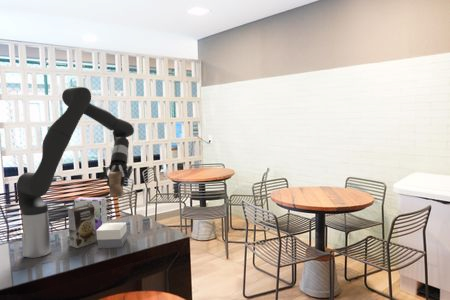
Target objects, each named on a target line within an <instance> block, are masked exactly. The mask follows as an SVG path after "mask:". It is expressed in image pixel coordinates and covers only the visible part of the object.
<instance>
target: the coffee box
mask: <svg viewBox="0 0 450 300" xmlns="http://www.w3.org/2000/svg"><path fill="white" fill-rule="evenodd" d="M67 216H68V217H67V218H68V219H67V220H68V234H69V236H68V237H69V246H71V247H73V248H76V249H79V248H83V247H85V246H89V245H91V244H94V243H95V244H96V242H97V234H96V231H95V213H94V207H93V206H88V205H85V206H80V207H76V208H74V207H72V208H68V209H67Z"/></svg>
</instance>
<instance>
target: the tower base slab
mask: <svg viewBox="0 0 450 300" xmlns="http://www.w3.org/2000/svg"><path fill="white" fill-rule="evenodd" d="M127 236H128V235H127V232H126V233H125V234H124V235H123V237H122V238H121V239H106V240H97V239H96V242H97V249H107V248H108V249H110V248H111V249H112V248H123V246H124V244H125V242H126V241H127V239H128V238H127Z"/></svg>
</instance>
